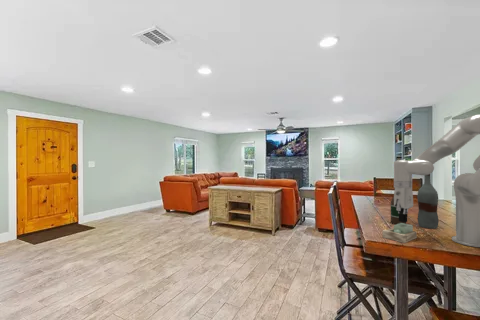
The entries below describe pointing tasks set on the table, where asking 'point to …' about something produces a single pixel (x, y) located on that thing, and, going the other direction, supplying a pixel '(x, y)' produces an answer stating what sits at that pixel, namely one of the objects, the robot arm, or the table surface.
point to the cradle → (399, 235)
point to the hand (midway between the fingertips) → (403, 221)
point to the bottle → (403, 228)
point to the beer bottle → (394, 214)
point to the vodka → (427, 205)
